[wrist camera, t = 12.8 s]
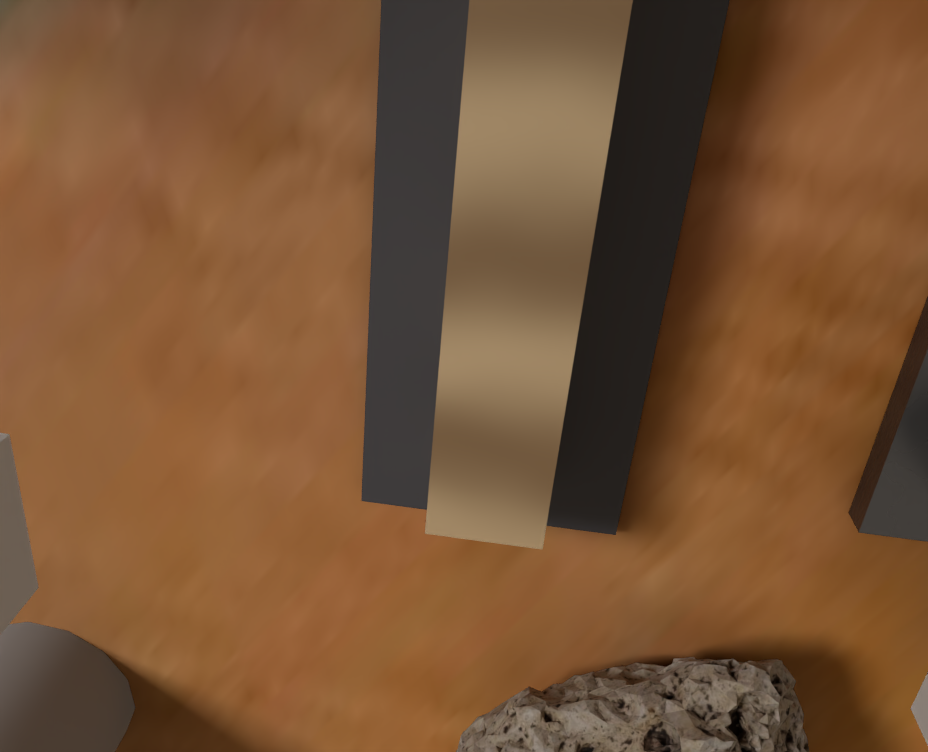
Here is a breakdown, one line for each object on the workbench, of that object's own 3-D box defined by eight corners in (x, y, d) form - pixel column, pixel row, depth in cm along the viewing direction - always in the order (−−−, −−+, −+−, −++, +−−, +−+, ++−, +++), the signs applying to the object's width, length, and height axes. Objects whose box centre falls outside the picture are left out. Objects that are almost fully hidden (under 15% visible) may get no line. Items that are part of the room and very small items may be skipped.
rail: (494, -144, 23) (483, -160, 19) (641, -130, 23) (656, -144, 19) (440, 469, 32) (425, 533, 29) (544, 482, 32) (542, 549, 28)
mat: (395, -240, 23) (391, -244, 22) (769, -206, 22) (774, -210, 22) (364, 492, 34) (361, 500, 33) (615, 525, 33) (616, 534, 33)
